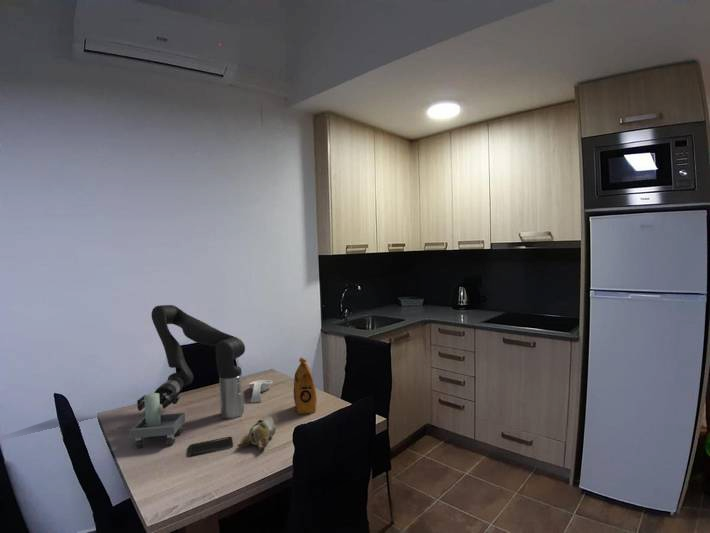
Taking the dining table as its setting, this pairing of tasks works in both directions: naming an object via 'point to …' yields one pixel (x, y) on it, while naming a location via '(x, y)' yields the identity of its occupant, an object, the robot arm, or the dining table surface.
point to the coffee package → (304, 389)
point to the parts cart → (159, 428)
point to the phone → (210, 446)
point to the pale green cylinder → (152, 410)
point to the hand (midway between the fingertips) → (151, 407)
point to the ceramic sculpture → (260, 433)
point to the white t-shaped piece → (259, 389)
